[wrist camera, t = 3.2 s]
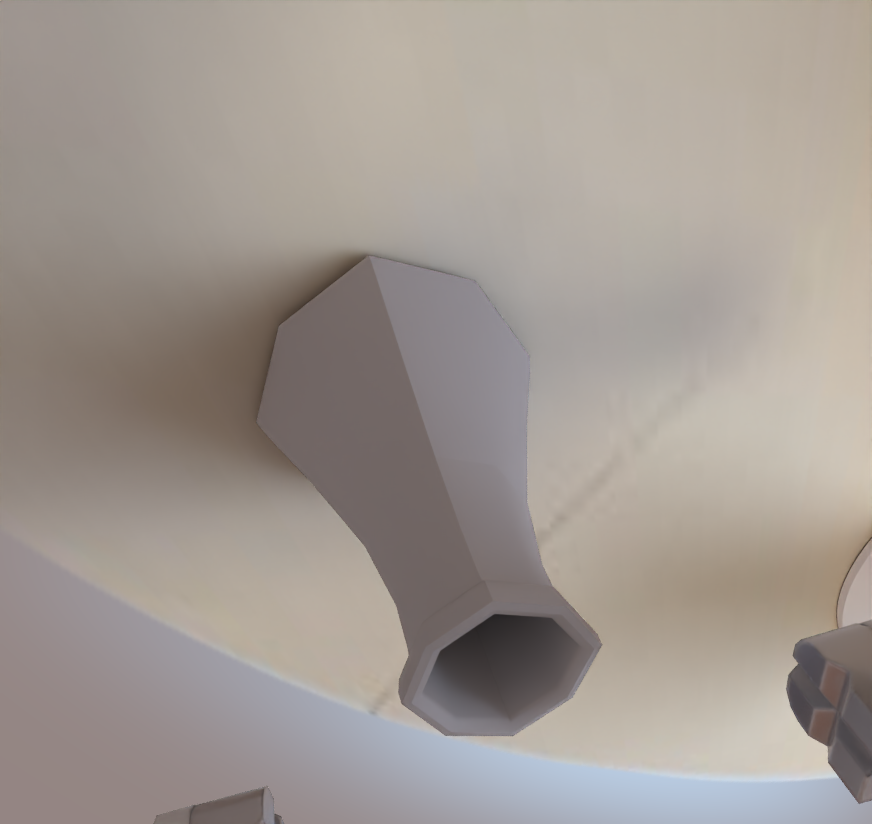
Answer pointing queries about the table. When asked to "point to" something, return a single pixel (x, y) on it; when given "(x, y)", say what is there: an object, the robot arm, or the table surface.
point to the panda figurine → (857, 591)
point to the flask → (432, 485)
